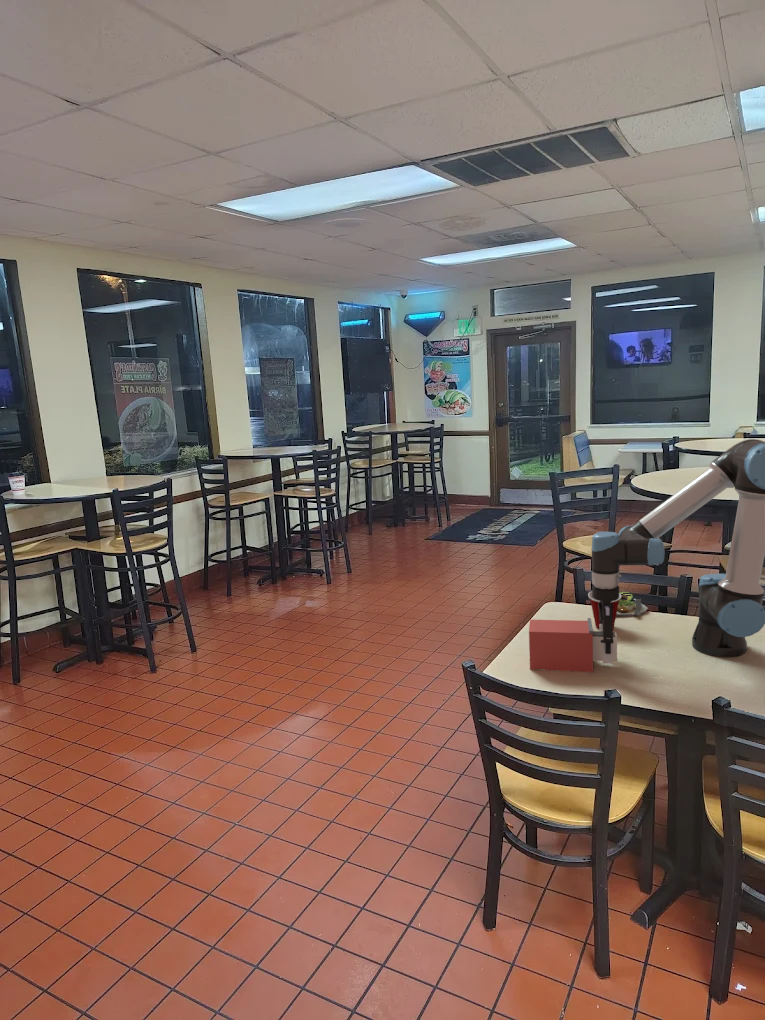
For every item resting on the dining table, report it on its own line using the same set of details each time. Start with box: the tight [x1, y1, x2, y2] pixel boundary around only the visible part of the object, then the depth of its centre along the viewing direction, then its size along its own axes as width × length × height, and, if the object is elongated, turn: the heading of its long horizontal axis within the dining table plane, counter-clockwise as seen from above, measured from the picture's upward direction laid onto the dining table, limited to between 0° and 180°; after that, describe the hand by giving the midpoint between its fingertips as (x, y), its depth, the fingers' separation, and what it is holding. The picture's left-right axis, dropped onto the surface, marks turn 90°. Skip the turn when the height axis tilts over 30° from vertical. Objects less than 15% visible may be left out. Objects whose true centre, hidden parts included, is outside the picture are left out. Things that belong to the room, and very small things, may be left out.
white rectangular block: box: [593, 630, 618, 662], centre depth 201 cm, size 18×3×8 cm, turn 76°
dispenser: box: [528, 617, 594, 673], centre depth 203 cm, size 18×10×13 cm, turn 76°
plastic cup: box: [587, 590, 622, 630], centre depth 228 cm, size 11×11×12 cm
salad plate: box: [616, 591, 648, 618], centre depth 244 cm, size 19×18×5 cm
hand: (605, 653), depth 200 cm, fingers open, 13 cm apart
